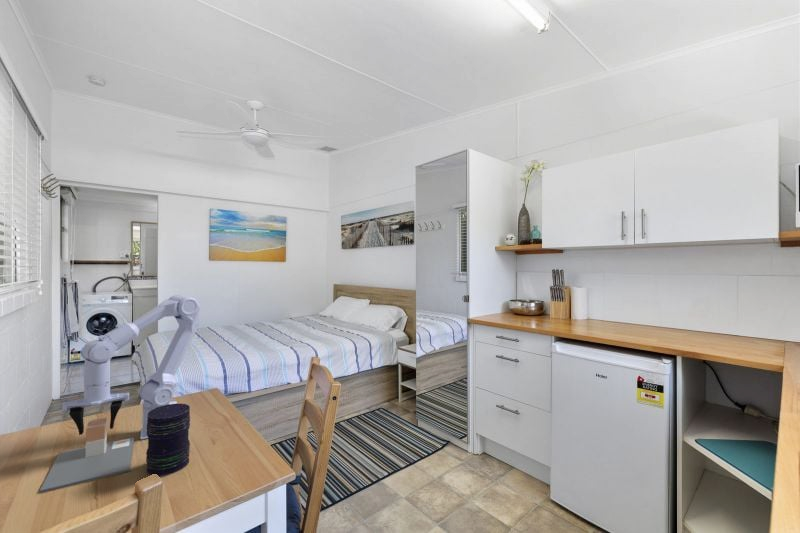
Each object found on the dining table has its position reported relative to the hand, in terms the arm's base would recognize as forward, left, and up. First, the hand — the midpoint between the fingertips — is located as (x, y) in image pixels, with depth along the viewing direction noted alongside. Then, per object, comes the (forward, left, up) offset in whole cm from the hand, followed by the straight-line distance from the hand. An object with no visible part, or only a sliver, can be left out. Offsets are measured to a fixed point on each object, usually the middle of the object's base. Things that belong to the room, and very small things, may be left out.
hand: (96, 430), depth 103 cm
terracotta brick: (0, 0, -2) cm, 2 cm away
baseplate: (0, +6, -6) cm, 9 cm away
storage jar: (-17, +18, -7) cm, 26 cm away
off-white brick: (0, 0, -6) cm, 6 cm away
